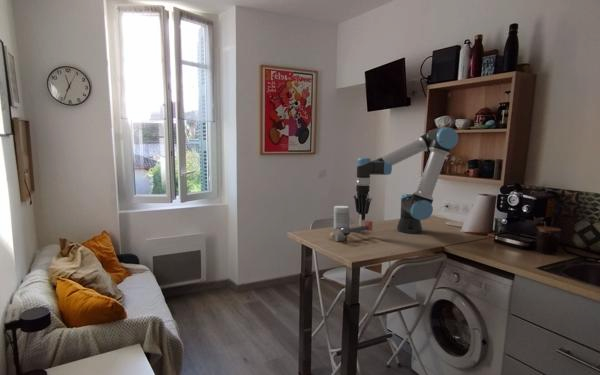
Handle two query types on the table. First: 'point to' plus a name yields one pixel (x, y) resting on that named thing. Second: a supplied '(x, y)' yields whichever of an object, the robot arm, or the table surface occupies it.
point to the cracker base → (357, 240)
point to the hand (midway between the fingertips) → (361, 225)
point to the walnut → (332, 235)
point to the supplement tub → (341, 217)
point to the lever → (346, 231)
